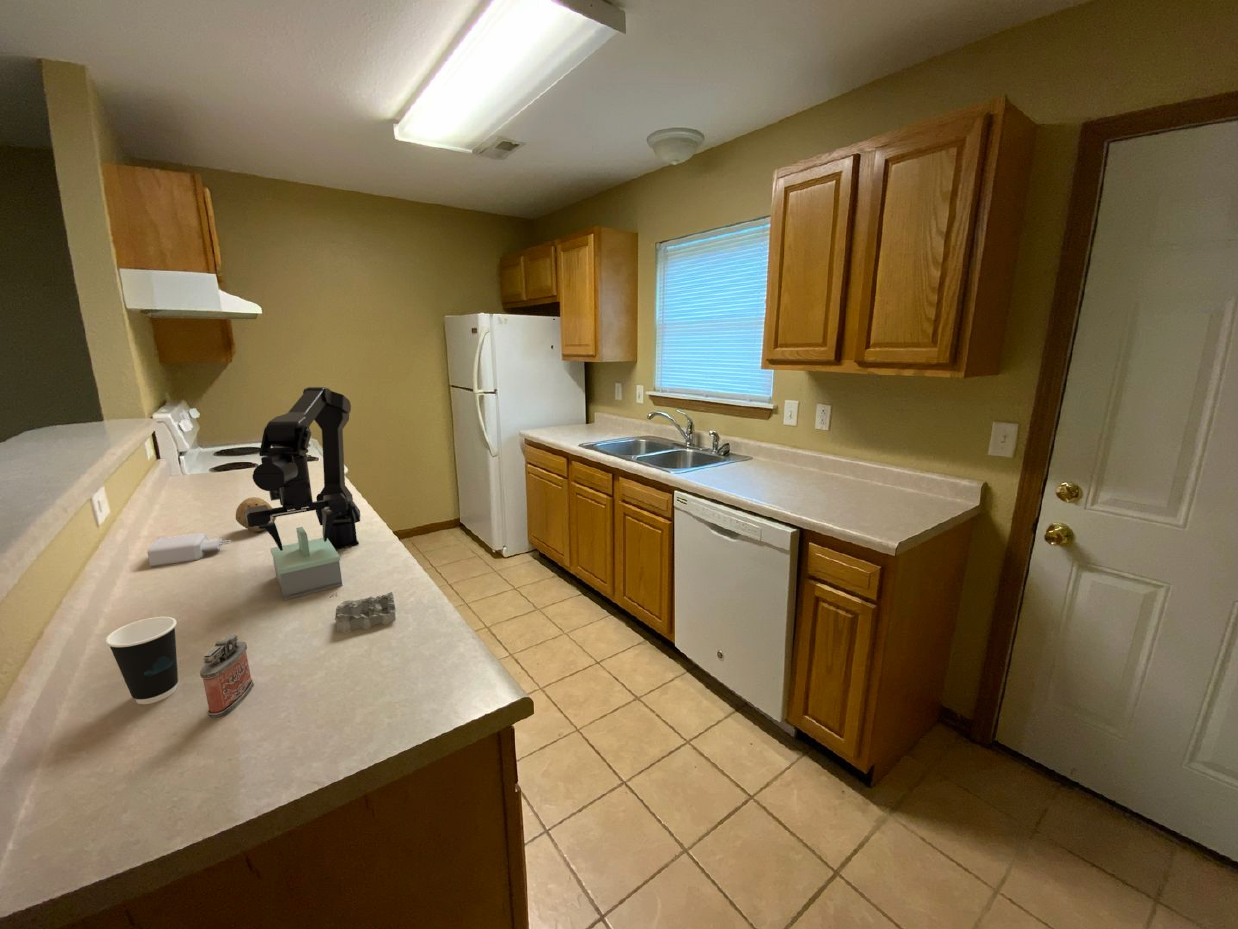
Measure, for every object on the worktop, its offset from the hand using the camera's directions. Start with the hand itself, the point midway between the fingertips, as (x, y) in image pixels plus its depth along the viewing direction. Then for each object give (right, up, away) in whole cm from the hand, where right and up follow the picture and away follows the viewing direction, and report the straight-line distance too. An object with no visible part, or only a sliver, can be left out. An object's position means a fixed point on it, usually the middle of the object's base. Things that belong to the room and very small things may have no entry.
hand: (303, 545), depth 115 cm
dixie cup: (-1, -18, -35) cm, 39 cm away
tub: (0, -8, +2) cm, 9 cm away
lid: (0, -3, +1) cm, 4 cm away
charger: (-37, -5, +15) cm, 40 cm away
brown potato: (-32, -1, +32) cm, 45 cm away
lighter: (+11, -18, -36) cm, 42 cm away
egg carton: (+21, -13, -14) cm, 28 cm away
